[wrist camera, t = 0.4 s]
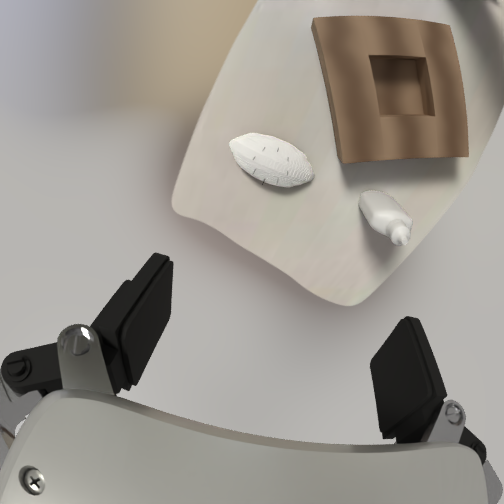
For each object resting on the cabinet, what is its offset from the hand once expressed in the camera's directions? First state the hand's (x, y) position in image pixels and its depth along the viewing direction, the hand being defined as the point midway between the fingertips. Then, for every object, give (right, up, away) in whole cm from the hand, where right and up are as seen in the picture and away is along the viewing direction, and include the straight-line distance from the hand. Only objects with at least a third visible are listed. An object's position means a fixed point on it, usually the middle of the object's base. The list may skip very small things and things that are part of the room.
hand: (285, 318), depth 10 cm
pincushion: (+1, +15, +25) cm, 30 cm away
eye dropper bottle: (+16, +10, +26) cm, 32 cm away
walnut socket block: (+17, +24, +17) cm, 34 cm away
